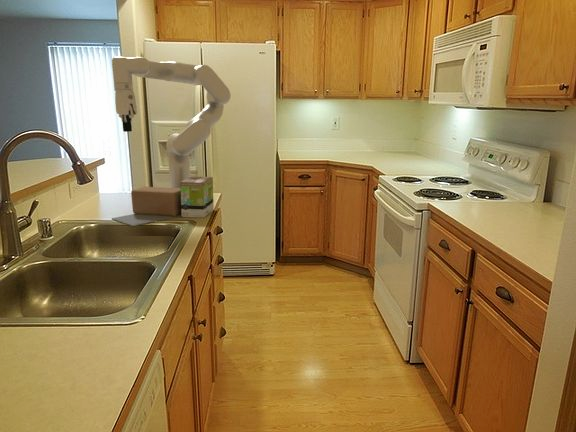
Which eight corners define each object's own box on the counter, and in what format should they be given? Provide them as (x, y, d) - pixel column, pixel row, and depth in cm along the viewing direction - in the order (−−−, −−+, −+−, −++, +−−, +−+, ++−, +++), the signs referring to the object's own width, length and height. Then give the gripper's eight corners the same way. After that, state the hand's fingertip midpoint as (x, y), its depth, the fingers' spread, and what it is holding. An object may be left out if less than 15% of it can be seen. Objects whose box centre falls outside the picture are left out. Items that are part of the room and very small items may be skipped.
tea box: (205, 218, 176) (203, 182, 172) (181, 217, 177) (178, 181, 173) (214, 209, 191) (213, 176, 187) (192, 209, 191) (190, 175, 188)
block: (132, 214, 181) (175, 217, 176) (129, 190, 178) (174, 192, 174) (145, 208, 190) (187, 211, 185) (143, 186, 188) (185, 188, 183)
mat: (160, 209, 190) (160, 208, 190) (182, 215, 179) (182, 214, 179) (111, 219, 174) (111, 218, 174) (132, 226, 164) (132, 225, 163)
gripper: (140, 87, 184) (144, 131, 188) (123, 88, 193) (126, 130, 198) (124, 87, 178) (128, 132, 183) (106, 87, 188) (111, 131, 193)
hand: (127, 131), depth 190 cm, fingers closed
